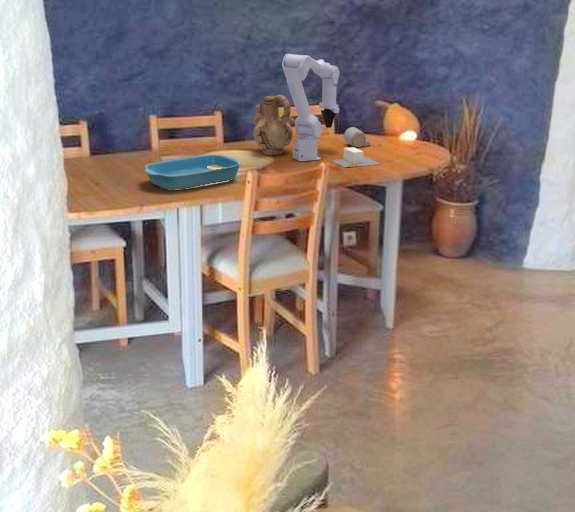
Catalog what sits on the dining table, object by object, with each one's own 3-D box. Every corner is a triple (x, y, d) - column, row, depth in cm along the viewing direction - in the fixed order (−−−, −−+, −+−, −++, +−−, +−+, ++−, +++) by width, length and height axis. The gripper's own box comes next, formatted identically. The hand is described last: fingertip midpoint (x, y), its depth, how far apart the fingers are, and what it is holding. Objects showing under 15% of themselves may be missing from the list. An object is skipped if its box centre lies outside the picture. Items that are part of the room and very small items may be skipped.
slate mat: (345, 168, 346) (345, 167, 346) (331, 161, 357) (331, 160, 357) (381, 164, 352) (381, 163, 352) (366, 157, 363) (366, 157, 363)
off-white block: (343, 158, 360) (353, 163, 352) (343, 148, 358) (353, 152, 350) (352, 157, 361) (363, 162, 354) (353, 147, 360) (363, 151, 352)
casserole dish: (163, 197, 307) (162, 177, 304) (134, 183, 324) (133, 164, 321) (251, 181, 327) (251, 162, 325) (219, 169, 344) (219, 151, 342)
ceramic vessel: (294, 148, 379) (294, 89, 371) (296, 158, 361) (296, 97, 353) (251, 148, 379) (251, 89, 370) (251, 158, 361) (250, 97, 352)
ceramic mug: (351, 148, 379) (352, 130, 377) (343, 144, 386) (344, 127, 384) (373, 147, 383) (374, 129, 380) (365, 143, 390) (365, 126, 388)
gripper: (346, 96, 360) (345, 129, 365) (330, 91, 373) (329, 123, 377) (330, 98, 358) (329, 131, 362) (315, 92, 370) (314, 124, 375)
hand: (328, 127), depth 370 cm, fingers closed
